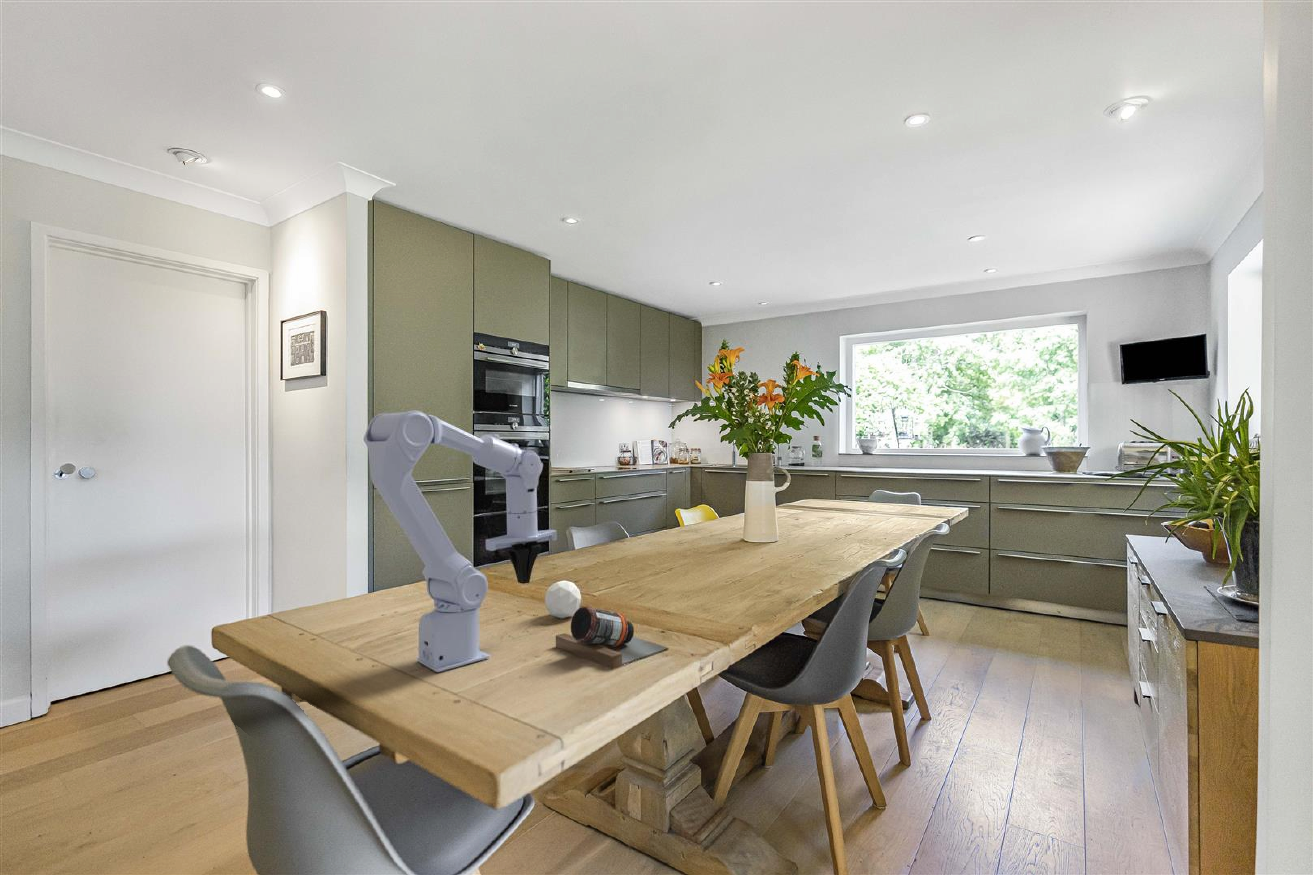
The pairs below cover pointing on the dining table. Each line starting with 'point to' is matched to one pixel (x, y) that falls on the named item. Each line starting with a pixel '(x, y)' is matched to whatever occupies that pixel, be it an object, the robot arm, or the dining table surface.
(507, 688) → the dining table surface
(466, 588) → the robot arm
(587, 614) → the supplement bottle
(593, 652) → the stop bar and mat
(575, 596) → the geometric ball
